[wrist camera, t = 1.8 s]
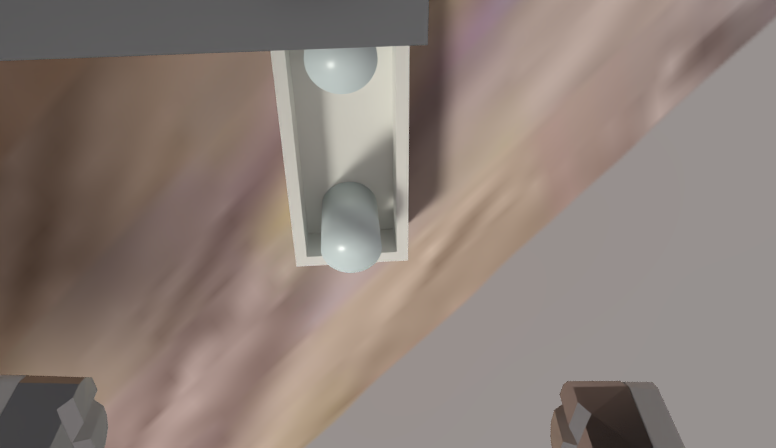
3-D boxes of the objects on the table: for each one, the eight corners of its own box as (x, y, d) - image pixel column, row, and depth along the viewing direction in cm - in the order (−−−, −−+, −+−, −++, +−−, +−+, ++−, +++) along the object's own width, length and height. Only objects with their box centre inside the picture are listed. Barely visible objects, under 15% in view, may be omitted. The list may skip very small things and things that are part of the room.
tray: (402, 228, 36) (411, 281, 32) (298, 234, 36) (294, 288, 32) (403, -30, 28) (415, -2, 24) (269, -26, 28) (259, 3, 24)
